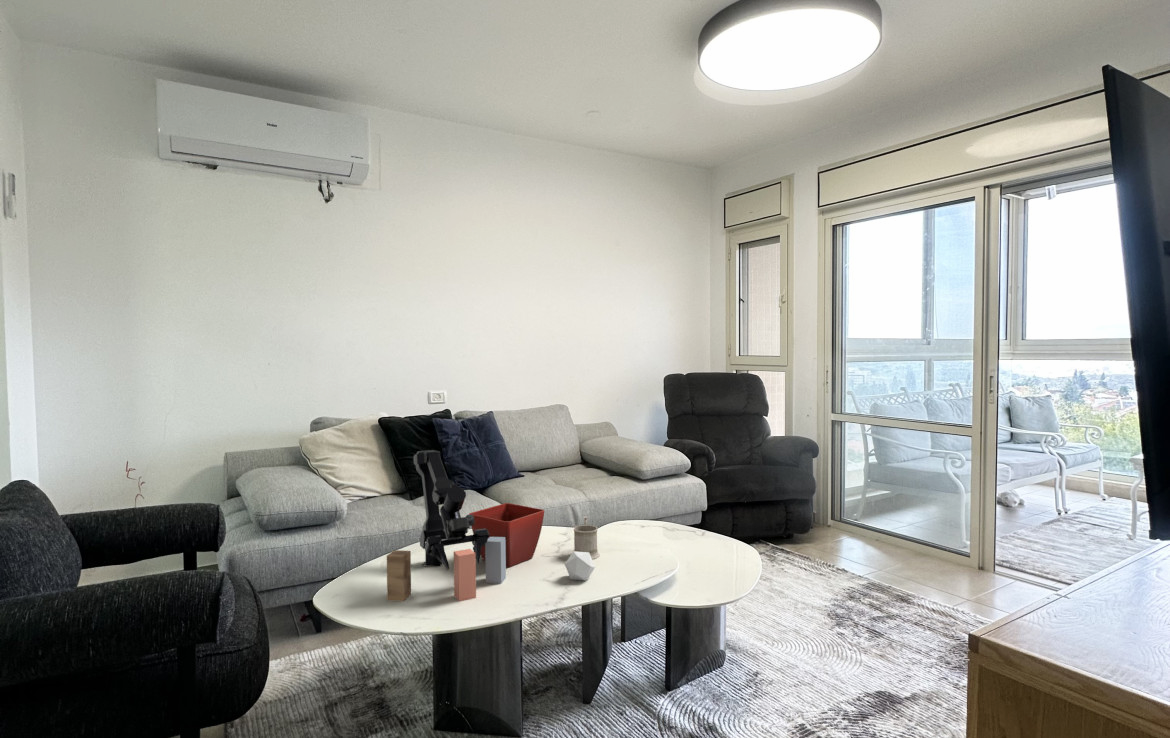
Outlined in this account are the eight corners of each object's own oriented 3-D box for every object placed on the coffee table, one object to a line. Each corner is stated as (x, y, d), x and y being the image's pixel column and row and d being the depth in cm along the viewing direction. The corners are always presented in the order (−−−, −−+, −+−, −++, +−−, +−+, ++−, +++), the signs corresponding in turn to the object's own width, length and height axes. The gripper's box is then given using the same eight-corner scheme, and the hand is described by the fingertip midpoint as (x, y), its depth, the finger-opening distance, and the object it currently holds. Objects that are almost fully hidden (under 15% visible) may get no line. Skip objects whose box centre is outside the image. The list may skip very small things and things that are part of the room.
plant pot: (508, 573, 196) (507, 521, 196) (468, 562, 208) (467, 513, 208) (546, 557, 212) (545, 509, 211) (507, 548, 223) (506, 502, 223)
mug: (599, 560, 208) (599, 525, 208) (571, 560, 208) (571, 525, 208) (599, 547, 223) (599, 514, 223) (573, 547, 223) (572, 515, 223)
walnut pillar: (395, 593, 179) (394, 550, 179) (411, 594, 179) (410, 550, 179) (387, 600, 175) (386, 555, 174) (403, 601, 174) (402, 556, 174)
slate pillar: (490, 577, 193) (490, 536, 192) (505, 578, 192) (505, 537, 192) (485, 582, 188) (485, 541, 188) (501, 583, 187) (500, 541, 187)
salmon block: (454, 595, 178) (453, 551, 178) (470, 592, 180) (470, 548, 180) (459, 601, 173) (458, 556, 173) (476, 597, 176) (475, 553, 176)
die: (598, 577, 193) (584, 548, 198) (599, 572, 185) (585, 542, 190) (574, 589, 191) (561, 560, 196) (574, 584, 184) (560, 554, 188)
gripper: (426, 509, 178) (437, 557, 168) (486, 502, 187) (500, 546, 177) (420, 530, 184) (430, 577, 175) (478, 522, 193) (491, 566, 184)
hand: (463, 566), depth 177 cm, fingers open, 9 cm apart
